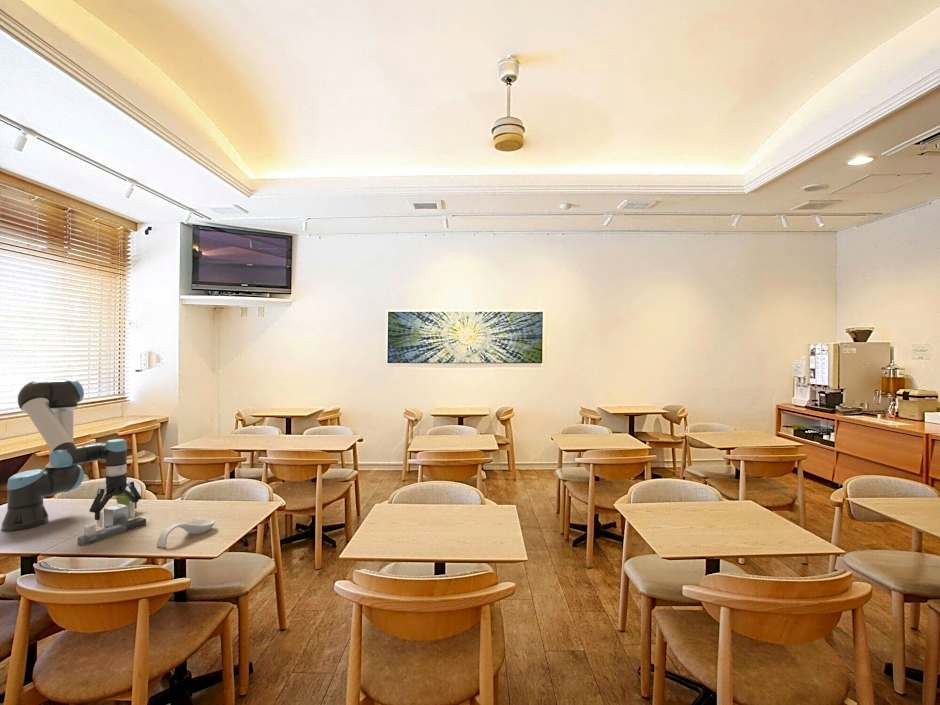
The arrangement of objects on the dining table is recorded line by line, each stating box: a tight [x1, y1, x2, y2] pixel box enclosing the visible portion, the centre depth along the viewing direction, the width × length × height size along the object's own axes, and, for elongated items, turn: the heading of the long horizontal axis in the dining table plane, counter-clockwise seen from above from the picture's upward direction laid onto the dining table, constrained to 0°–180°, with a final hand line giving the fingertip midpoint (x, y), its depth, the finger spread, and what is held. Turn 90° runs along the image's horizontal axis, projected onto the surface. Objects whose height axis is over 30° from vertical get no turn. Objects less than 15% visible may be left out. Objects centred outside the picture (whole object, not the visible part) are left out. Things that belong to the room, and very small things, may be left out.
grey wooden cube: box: [103, 503, 130, 528], centre depth 206 cm, size 6×6×8 cm
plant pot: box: [114, 490, 140, 514], centre depth 223 cm, size 9×9×9 cm
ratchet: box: [77, 516, 147, 546], centre depth 196 cm, size 24×5×6 cm, turn 158°
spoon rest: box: [156, 519, 216, 549], centre depth 193 cm, size 24×12×7 cm, turn 163°
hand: (116, 521), depth 206 cm, fingers open, 13 cm apart
